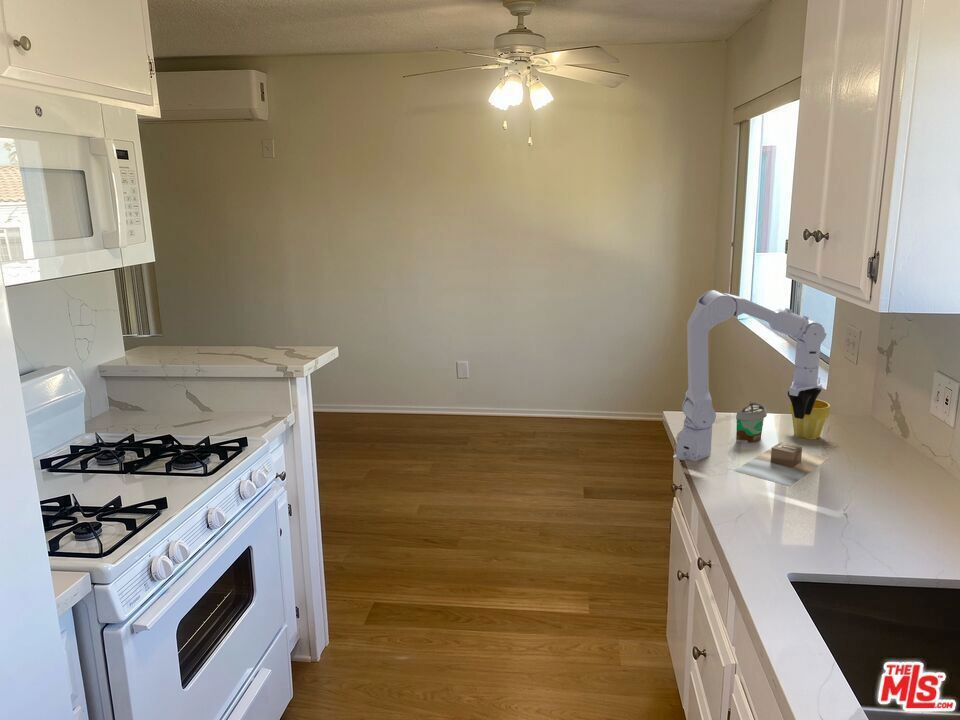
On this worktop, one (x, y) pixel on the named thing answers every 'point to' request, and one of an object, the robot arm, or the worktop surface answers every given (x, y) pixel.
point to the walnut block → (786, 454)
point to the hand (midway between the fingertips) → (802, 416)
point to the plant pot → (811, 421)
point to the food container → (750, 423)
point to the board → (780, 468)
